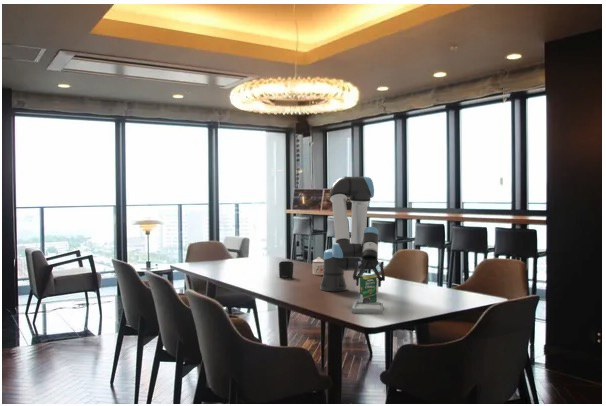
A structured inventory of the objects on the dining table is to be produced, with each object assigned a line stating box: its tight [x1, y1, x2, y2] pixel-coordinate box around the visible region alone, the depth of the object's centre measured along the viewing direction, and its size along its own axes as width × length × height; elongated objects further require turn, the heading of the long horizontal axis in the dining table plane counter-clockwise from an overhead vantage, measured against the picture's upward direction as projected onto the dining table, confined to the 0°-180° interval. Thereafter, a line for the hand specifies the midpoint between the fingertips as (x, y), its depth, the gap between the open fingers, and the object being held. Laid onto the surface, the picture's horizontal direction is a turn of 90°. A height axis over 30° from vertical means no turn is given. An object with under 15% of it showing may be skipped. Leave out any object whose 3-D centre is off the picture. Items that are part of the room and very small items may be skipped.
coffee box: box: [359, 273, 378, 304], centre depth 243 cm, size 8×3×13 cm, turn 114°
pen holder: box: [278, 260, 294, 279], centre depth 336 cm, size 9×9×10 cm
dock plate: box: [351, 300, 384, 315], centre depth 243 cm, size 14×16×2 cm
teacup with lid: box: [312, 256, 324, 276], centre depth 352 cm, size 12×9×12 cm
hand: (368, 291), depth 241 cm, fingers closed on coffee box, 8 cm apart
